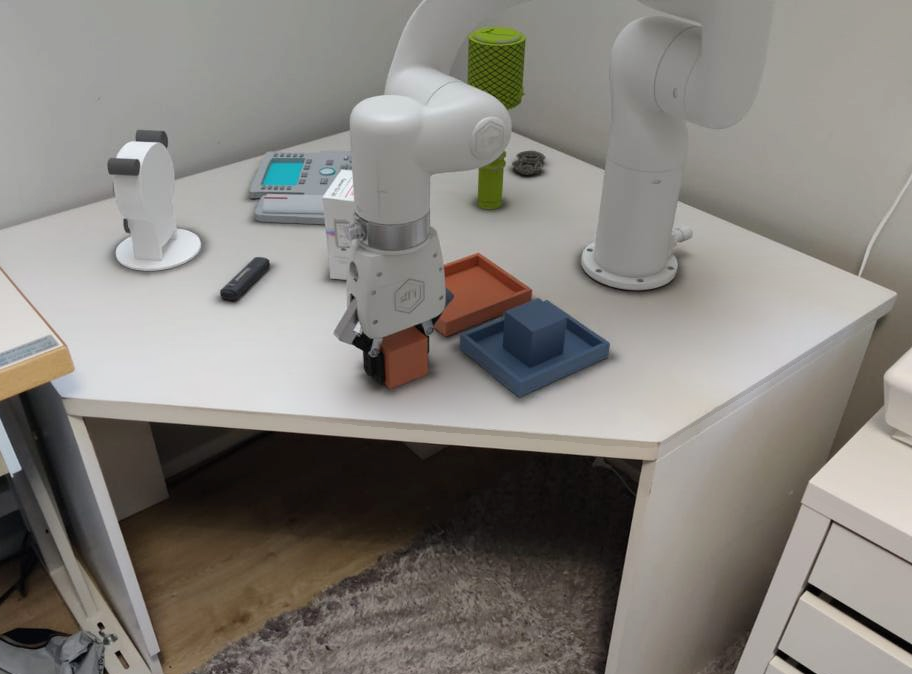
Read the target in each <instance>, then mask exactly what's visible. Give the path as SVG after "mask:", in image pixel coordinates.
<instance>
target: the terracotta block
mask: <svg viewBox="0 0 912 674" xmlns="http://www.w3.org/2000/svg"><path fill="white" fill-rule="evenodd" d="M370 339H371V338H370ZM380 352H381V353H383V355H384V361H385V382H384V383H383V384H384V385H385V386H386V387H387V388H388V389H389V390H393V389H395V388H398V387H400V386H402V385H405V384H408V383H409V382H412V381H414V380H417V379H419V378H422V377H424V376H426V375H428V374H429V371H428V370H429V367H428V366H429V353H428V338H427V337H426V336H425V335H424V334H422V333H421V332H420V331H419V330H418V329H417V328H415V327H414V326H412V327H409V328H407V329H404V330H401V331H399V332H396V333H393V334H391V335H388V336H385V337H383V340H382V344H381V348H380Z"/></svg>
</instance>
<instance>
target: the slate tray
mask: <svg viewBox="0 0 912 674" xmlns="http://www.w3.org/2000/svg"><path fill="white" fill-rule="evenodd" d="M543 301H544V302H545V303H547V304H548V305H550V306H551V307H552V308H554V309H555V310H557V311H558V312H560V313H561V314H563V315H564V316H565V317H567V323H566V332H565V341H564V349H563V354H561V355H558V356H556V357H554V358H552V359H549V360H547V361H545V362H542V363H540V364H538V365H536V366H533V367H531V368H529V367H528V366H526V365H525V364H524V363H522V362H521V361H520V360H519V359H517V358H516V357H515V356H514V355H512V354H511V353H510V352H508V351H507V350H506V349H505V348H503V332H504V316H502V317H500V318H497V319H495V320H492V321H490V322H488V323H485V324H482V325H480V326H477V327H475V328H472V329H470V330H466V331H464V332H462V333H460V334H459V349H460V351H462V352H464V353H465V354H466V355H467V356H468V357H469V358H471V359H472V360H473V361H474V362H475V363H477V365H479V366H481V367H482V368H483V369H484V370H485V371H487V372H488V373H489V374H490V375H492V376H493V377H494V378H495V379H496V380H498V381H499V382H500V383H501V384H502V385H504V386H505V387H506V388H507V389H508V390H509V391H511V392H512V393H513V394H514V395H516V396H517V397H518V398H521V397H523V396H526V395H527V394H530V393H532V392H534V391H537V390H539V389H541V388H543V387H545V386H547V385H549V384H552V383H554V382H556V381H559V380H561V379H563V378H566V377H567V376H570V375H572V374H574V373H576V372H579V371H581V370H583V369H585V368H587V367H590V366H592V365H594V364H596V363H598V362H600V361H603V360H605V359H608V358H609V353H610V347H611V343H610V342H609V341H608V340H607V339H605V338H603V337H602V336H601V335H600V334H598V333H596V332H595V331H593V330H592V329H590V328H589V327H587V326H586V325H584V323H582V322H580V321H579V320H577V319H576V318H575V317H573V316H572V315H570V314H569V313H567V312H566V311H565V310H563V309H561V308H560V307H559V306H557V305H556V304H554V303H552V302H551V301H549V300H548V299H545V300H543Z"/></svg>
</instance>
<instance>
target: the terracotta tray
mask: <svg viewBox="0 0 912 674" xmlns="http://www.w3.org/2000/svg"><path fill="white" fill-rule="evenodd" d="M444 274H445V287H446V288H448V289H449V290H450V291H451V292H452V293H453V294H454V298H453V300H452V301H451V302H450V303H449V304H448V306H447V307H446V308H445V309H444V310H443V313H442V315H441V316H440V318H439V319H438V320H437V322H436V323H435V325H434V329H436V330H437V331H438V332H439V333H440V334H442V335H443V336H444V337H448V336H450V335H453V334H457V333H458V332H461V331H463V330H466V329H468V328H471V327H473V326H476V325H478V324H482V323H484V322H486V321H488V320H491V319H494V318H496V317H500V316H501V315H505V311H507V310H509V309H512V308H514V307H517V306H519V305H522V304H524V303H527V302H530V301H532V300H533V299H532V297H533V289H532V288H531V287H530V286H528V285H526V284H525V283H524V282H522V281H521V280H520V279H518V278H516V277H515V276H514V275H512V274H511V273H510V272H508V271H506V270H505V269H503V268H502V267H501V266H499V265H498V264H496V263H495V262H494V261H492V260H490V259H489V258H488V257H486V256H485V255H483V254H482V253H480V252H476V253H473V254H470V255H468V256H465V257H462V258H459V259H456V260H454V261H451V262H447V263H445V264H444Z"/></svg>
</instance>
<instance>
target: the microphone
mask: <svg viewBox="0 0 912 674" xmlns="http://www.w3.org/2000/svg"><path fill="white" fill-rule="evenodd" d="M526 40H527V36H526V34H525V33H523V32H522V31H518V29H517V30H516V29H515V28H511V27H506V26H486V27H482V28H479V29H476V30H473V31H472V32H471V33H470V34H469V35H468V42H467V43H468V44H467V45H468V47H467V83H466V84H468V85H470V86H473V87H475V88H477V89H480V90H482V91H484V92H486V93H488V94H490V95H492V96H493V97H495V98H496V99H497V100H499V101H500V102H501V103H502V104H503V105H504V106H505V108H506V109H507V111H509V110H512V109H515V108H516V107H518V106H520V104H522V99H523V96H526V92H524V86H523V85H524V70H525V54H526V43H527V42H526ZM506 157H507V151H506V150H504V151H503V153H502V154H501V155H500V156H499V157H498V158H497V159H496V160H494V161H493V162H491V163H490V164H488V165H486V166H483V167H481V168H478V175H477V176H478V178H477V206H478V207H479V208H481V209H485V210H495V209H499V208H500V207H502V203H503V190H504V189H503V187H504V173H505V171H504V170H505V167H506V165H507V162H506V160H505V159H506Z"/></svg>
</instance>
